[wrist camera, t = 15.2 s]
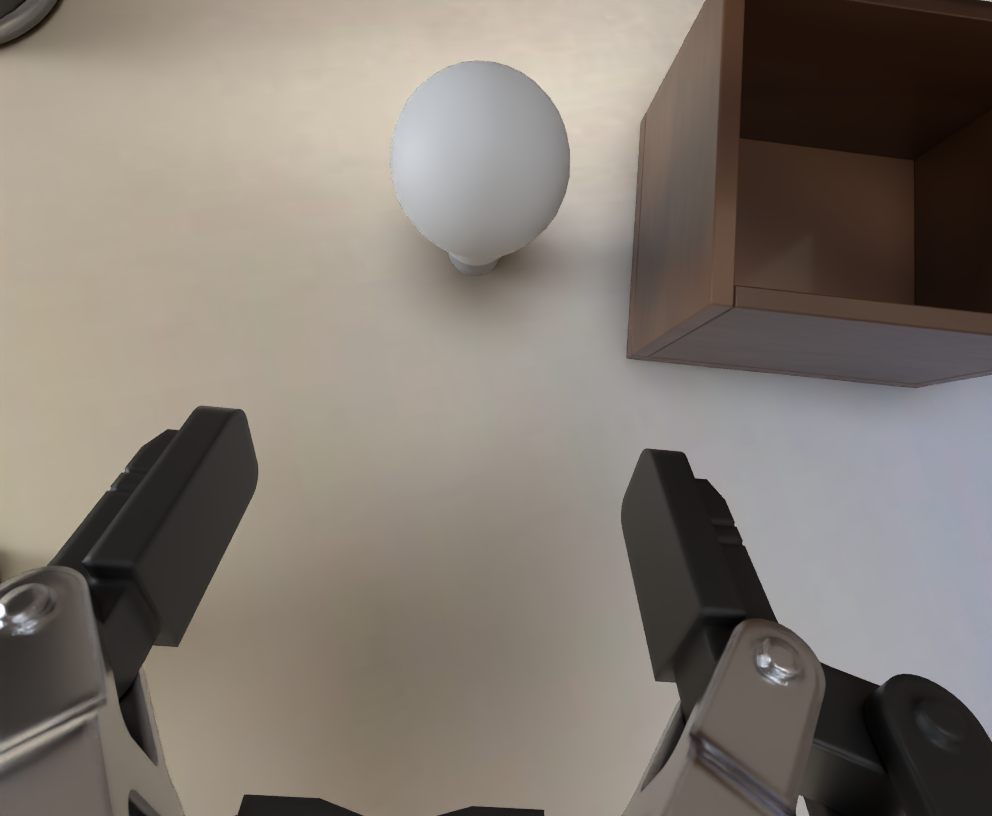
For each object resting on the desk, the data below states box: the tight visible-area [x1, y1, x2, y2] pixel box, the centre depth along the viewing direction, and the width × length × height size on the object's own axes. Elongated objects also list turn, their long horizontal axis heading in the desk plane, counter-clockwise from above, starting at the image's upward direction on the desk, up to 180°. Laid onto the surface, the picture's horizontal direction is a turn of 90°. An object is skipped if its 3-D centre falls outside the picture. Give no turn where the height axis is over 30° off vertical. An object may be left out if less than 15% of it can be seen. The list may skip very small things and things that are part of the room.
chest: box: [627, 0, 992, 388], centre depth 23 cm, size 13×15×9 cm
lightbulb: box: [390, 61, 570, 276], centre depth 21 cm, size 6×6×11 cm
